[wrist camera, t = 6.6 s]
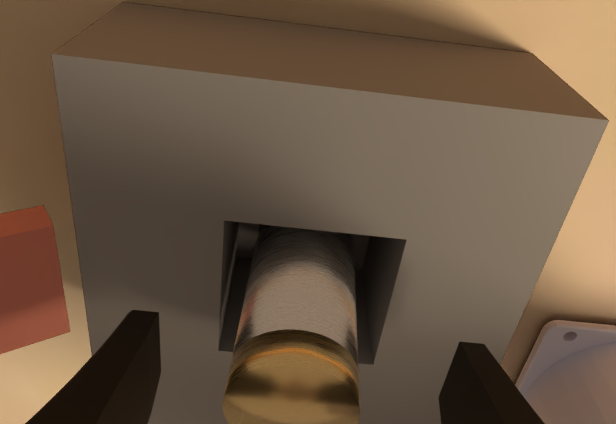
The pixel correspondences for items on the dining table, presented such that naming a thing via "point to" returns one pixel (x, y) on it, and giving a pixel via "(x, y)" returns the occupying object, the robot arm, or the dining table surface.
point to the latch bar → (29, 280)
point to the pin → (297, 332)
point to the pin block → (312, 187)
